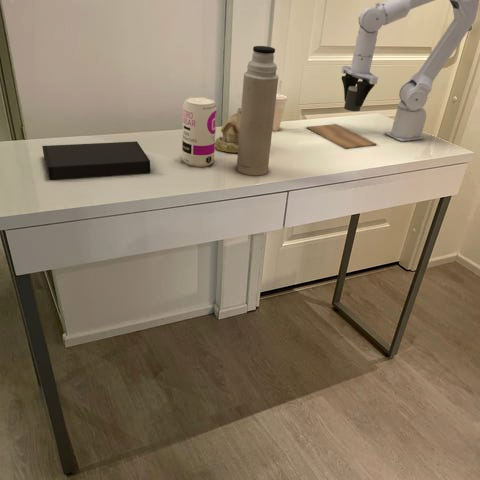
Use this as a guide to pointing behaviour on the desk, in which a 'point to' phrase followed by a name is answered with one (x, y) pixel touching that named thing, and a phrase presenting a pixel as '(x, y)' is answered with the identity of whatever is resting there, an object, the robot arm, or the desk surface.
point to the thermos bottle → (257, 112)
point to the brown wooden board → (341, 136)
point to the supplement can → (198, 131)
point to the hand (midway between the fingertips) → (353, 103)
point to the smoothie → (279, 109)
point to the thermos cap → (351, 99)
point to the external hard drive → (95, 160)
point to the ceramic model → (230, 134)
